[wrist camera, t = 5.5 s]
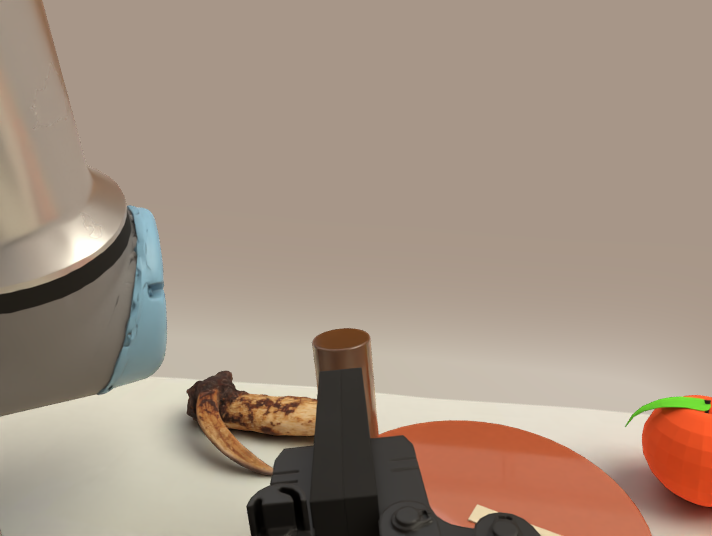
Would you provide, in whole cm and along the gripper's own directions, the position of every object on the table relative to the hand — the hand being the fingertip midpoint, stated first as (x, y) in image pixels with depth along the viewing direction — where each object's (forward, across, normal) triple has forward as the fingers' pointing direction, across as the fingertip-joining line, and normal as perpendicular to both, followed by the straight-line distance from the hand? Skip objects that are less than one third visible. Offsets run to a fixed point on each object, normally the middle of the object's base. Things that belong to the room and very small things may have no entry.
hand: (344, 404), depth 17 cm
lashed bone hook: (+24, -9, -16) cm, 30 cm away
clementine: (+12, +22, -16) cm, 30 cm away
